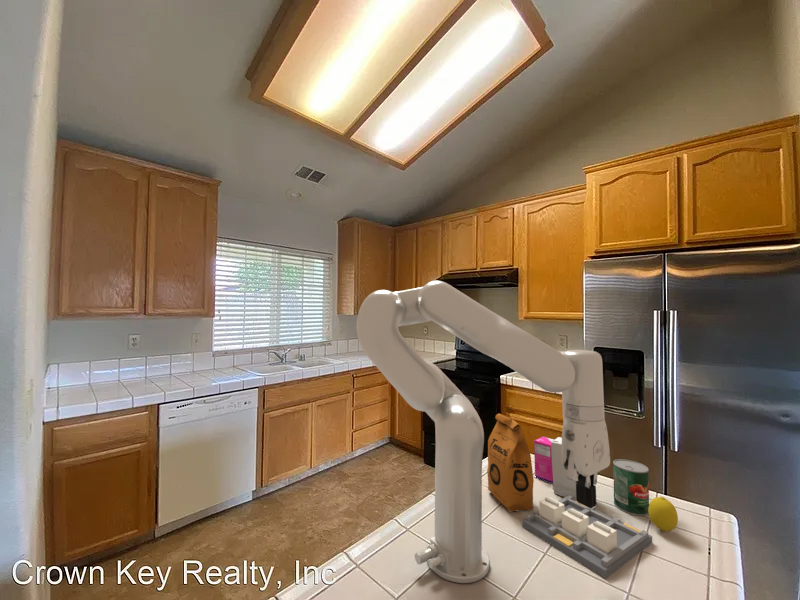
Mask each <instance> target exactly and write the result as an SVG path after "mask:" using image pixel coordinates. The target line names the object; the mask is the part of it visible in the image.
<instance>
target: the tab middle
mask: <svg viewBox="0 0 800 600" xmlns="http://www.w3.org/2000/svg"><path fill="white" fill-rule="evenodd" d="M587 526H589V516H587V515H585V514H583V513H581V512H579V511H577V510H575V509H573V508H571V509H570V508H569V509H567V511H565V512H563V513H562V529H564V530H566V531H568V532H570V533H571V534H573V535H575V536H577V537H578V538H582V537H583V536H585V535H587Z"/></svg>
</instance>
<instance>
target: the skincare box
mask: <svg viewBox="0 0 800 600" xmlns="http://www.w3.org/2000/svg"><path fill="white" fill-rule="evenodd" d="M551 449H552V469H553V483H552V486H553V490H552V491H553V494H555V495H557V496H559V497H563V498H565V497H567V496H569V495H570V496H572V497H573V499H575V500H576V483H575V482H574V481H573V480H570V479H568V478H567V471H568V469H565V468H564V467H563V463H562V436H558V437H556V438H555V439H554V441H552V442H551Z"/></svg>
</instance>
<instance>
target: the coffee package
mask: <svg viewBox="0 0 800 600" xmlns="http://www.w3.org/2000/svg"><path fill="white" fill-rule="evenodd" d="M494 418H495V420H496V423H495V425H494V428H493V429H492V431H491V433H490V434H489V437H488V440H487V463H488V464H487V470H486V473H487V488H488V489H487V490H488V491H489V492H490V493H491V494H492V495H493V496H494V497H495V498H496V499H497V501H499V503H500V504H501V505H503V506H504V507H505V508H506V509H507V510H508V511H509V512H511V513H513V512H521V511H525V512H526V511H528V512H529V511H530V510H531V511H532V510H533V509H534V474H533V466H532V464H533V463H532V457H531V455H532V454H531V451H530V448H529V445H528V443H527V440H526V436H525V434H524V432H523V429H522V426H521V424H520V423H518V422H517V421H516V420H514V418H511V417H508V416H506V415H504V414H501V413H497V414H496V415H495V417H494Z"/></svg>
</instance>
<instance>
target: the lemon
mask: <svg viewBox="0 0 800 600" xmlns="http://www.w3.org/2000/svg"><path fill="white" fill-rule="evenodd" d="M648 513H649V514H648V517H649V519H650V521H651V523H652V524H653V525H654V526H655V528H658V529H659V530H660V531H661V532H662V533H665V532H671V531H673V530H675V529H676V528H677V526H678V523H679V522H678V521H679V518H678V511H677V509H676V506H674V504H673V503H672V502H671V501H670V500H668V499H667V498H665V497H664V496H656V497H654V498H652V499H651V500H649V508H648Z"/></svg>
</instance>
